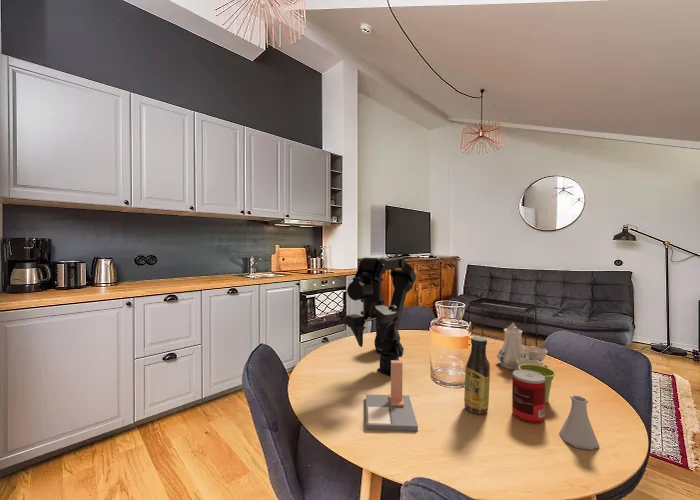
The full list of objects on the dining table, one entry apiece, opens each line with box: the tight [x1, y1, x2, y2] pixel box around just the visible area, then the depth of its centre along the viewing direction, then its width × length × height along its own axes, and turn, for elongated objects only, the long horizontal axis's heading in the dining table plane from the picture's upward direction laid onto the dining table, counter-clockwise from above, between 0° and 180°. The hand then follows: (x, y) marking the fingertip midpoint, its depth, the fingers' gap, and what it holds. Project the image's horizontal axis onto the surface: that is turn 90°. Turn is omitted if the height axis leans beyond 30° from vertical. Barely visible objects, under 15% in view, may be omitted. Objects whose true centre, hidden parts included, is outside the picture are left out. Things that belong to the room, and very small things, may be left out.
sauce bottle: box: [463, 336, 491, 415], centre depth 88 cm, size 7×6×20 cm
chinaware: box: [496, 322, 549, 371], centre depth 119 cm, size 28×17×17 cm, turn 150°
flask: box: [558, 394, 600, 451], centre depth 74 cm, size 7×7×10 cm
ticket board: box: [365, 394, 419, 432], centre depth 86 cm, size 16×12×2 cm
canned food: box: [511, 370, 546, 425], centre depth 85 cm, size 8×8×11 cm
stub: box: [388, 360, 404, 407], centre depth 90 cm, size 6×4×11 cm, turn 177°
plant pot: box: [518, 364, 556, 404], centre depth 95 cm, size 9×9×9 cm
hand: (371, 344), depth 104 cm, fingers open, 9 cm apart
